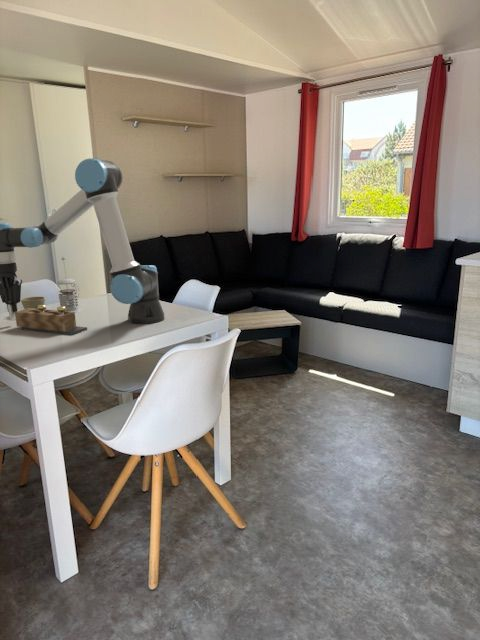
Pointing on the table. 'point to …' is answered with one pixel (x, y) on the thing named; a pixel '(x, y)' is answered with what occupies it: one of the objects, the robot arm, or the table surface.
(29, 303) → the flower pot
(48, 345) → the table surface
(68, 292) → the french press
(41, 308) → the rail
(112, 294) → the robot arm
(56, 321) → the wooden compartment box
